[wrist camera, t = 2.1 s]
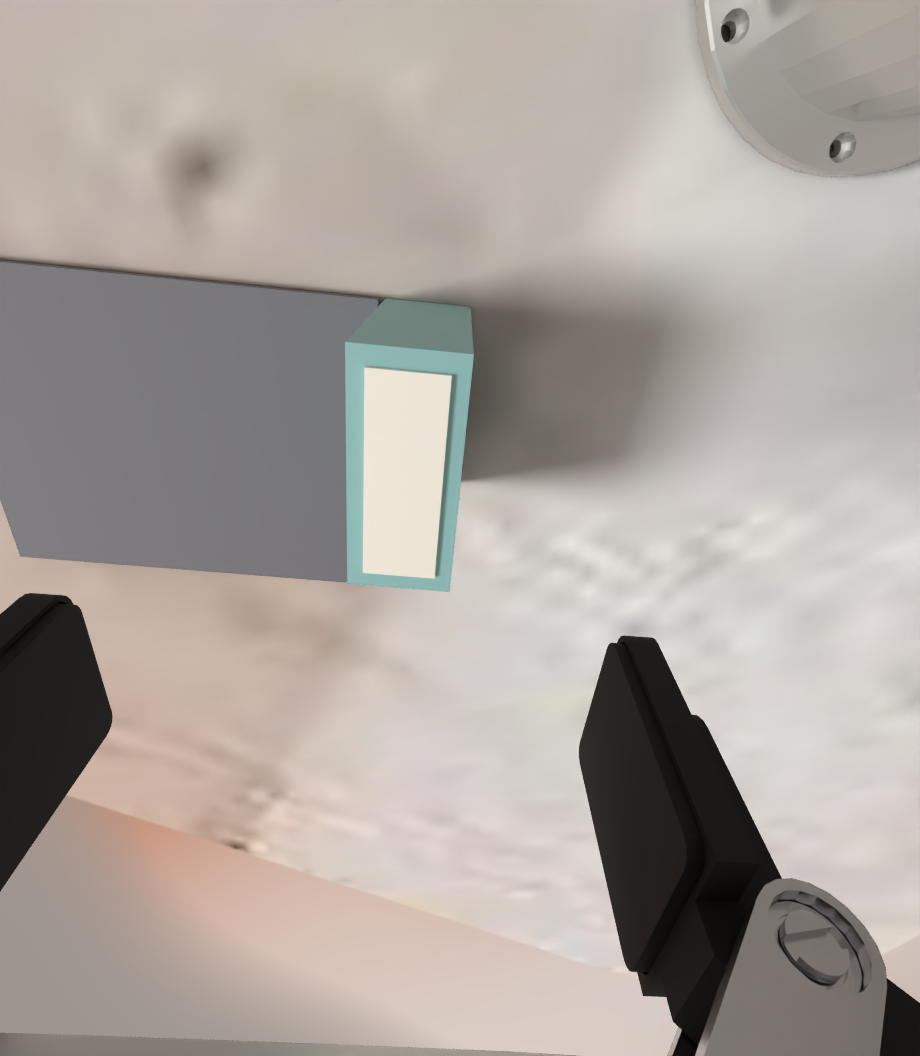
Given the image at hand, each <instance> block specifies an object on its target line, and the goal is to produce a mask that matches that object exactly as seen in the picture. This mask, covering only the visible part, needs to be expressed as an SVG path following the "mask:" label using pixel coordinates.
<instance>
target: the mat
mask: <svg viewBox="0 0 920 1056" xmlns="http://www.w3.org/2000/svg"><path fill="white" fill-rule="evenodd" d="M379 305H380V298H377V297H367V296H357V295H347V294H337V293H327V292H317V291H307V290H297V289H287V288H277V287H267V286H257V285H247V284H237V283H227V282H217V281H207V280H197V279H187V278H177V277H167V276H157V275H147V274H137V273H128V272H118V271H108V270H98V269H88V268H78V267H68V266H58V265H48V264H38V263H28V262H18V261H8V260H0V500H1V503H2V506H3V509H4V511H5V514H6V517H7V520H8V523H9V525H10V528H11V531H12V534H13V537H14V540H15V542H16V545H17V548H18V551H19V554H20V557H32V558H45V559H57V560H70V561H83V562H95V563H108V564H121V565H133V566H146V567H158V568H171V569H184V570H196V571H209V572H222V573H234V574H247V575H259V576H272V577H285V578H297V579H310V580H322V581H335V582H347V501H346V392H345V341H346V340H347V339H348V338H349V337H350V336H351V335H352V334H353V333H354V332H355V331H356V330H357V329H358V328H359V326H360V325H361V324H362V323H363V322H364V321H365V320H366V319H367V318H368V317H369V316H370V315H371V314H372V313H373V312H374V311H375V309H376V308H377V307H378V306H379Z"/></svg>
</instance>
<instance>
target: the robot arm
mask: <svg viewBox="0 0 920 1056" xmlns="http://www.w3.org/2000/svg"><path fill="white" fill-rule="evenodd" d="M695 4H696V19H697V35H698V41H699V45H700V49H701V53H702V58H703V62H704V66H705V70H706V75H707V78H708V80H709V83H710V85H711V87H712V89H713V92H714V94H715V96H716V98H717V101H718V103H719V105H720V107H721V109H722V112H723V113H724V114H725V116H726V117H727V118H728V120H729V121H730V122H731V124H732V125H733V126H734V128H735V129H736V130H737V132H738V133H739V134H740V136H741V137H742V138H743V139H744V140H745V141H746V142H747V143H749V144H750V145H751V146H752V147H753V148H755V149H756V150H757V151H758V152H760V153H761V154H762V155H763V156H764V157H766V158H767V159H769V160H771V161H773V162H775V163H778V164H780V165H782V166H784V167H786V168H789V169H791V170H793V171H795V172H800V173H806V174H812V175H818V176H823V177H837V176H858V175H864V174H870V173H876V172H882V171H888V170H893V169H896V168H898V167H901V166H904V165H907V164H909V163H912V162H915V161H918V160H920V0H695ZM722 25H727V26H729V28H730V31H731V34H730V38H729V40H728V42H724V40H723V38H722V36H721V27H722ZM832 143H833V145H834V151H833V153H832V155H831V156H830V155H829V151H830V145H831V144H832ZM111 724H112V711H111V708H110V704H109V701H108V698H107V694H106V691H105V688H104V684H103V681H102V678H101V674H100V671H99V668H98V664H97V661H96V658H95V654H94V651H93V648H92V644H91V641H90V638H89V634H88V631H87V628H86V624H85V621H84V618H83V614H82V611H81V609H80V608H79V607H78V606H77V605H73V603H72V601H71V600H70V599H69V598H68V597H67V596H63V595H49V594H35V593H29V594H25V595H23V596H22V597H20V598H19V599H18V600H16V601H15V602H14V603H13V604H12V605H11V606H9V607H8V608H7V609H6V610H5V611H4V612H2V613H1V614H0V891H1V889H2V888H3V887H4V885H5V884H6V882H7V881H8V879H9V878H10V876H11V874H12V873H13V872H14V870H15V869H16V868H17V866H18V865H19V863H20V862H21V860H22V859H23V857H24V856H25V854H26V853H27V851H28V850H29V848H30V847H31V845H32V844H33V843H34V841H35V840H36V838H37V837H38V835H39V834H40V832H41V831H42V829H43V828H44V827H45V825H46V824H47V822H48V821H49V819H50V818H51V816H52V815H53V813H54V812H55V810H56V809H57V807H58V806H59V805H60V803H61V802H62V800H63V799H64V797H65V796H66V794H67V793H68V791H69V790H70V789H71V787H72V786H73V784H74V783H75V781H76V780H77V778H78V777H79V775H80V774H81V772H82V771H83V770H84V768H85V767H86V765H87V764H88V762H89V761H90V759H91V758H92V756H93V755H94V753H95V752H96V750H97V749H98V748H99V746H100V745H101V743H102V742H103V740H104V739H105V737H106V736H107V734H108V732H109V730H110V727H111ZM579 760H580V766H581V770H582V775H583V779H584V784H585V788H586V793H587V797H588V802H589V806H590V811H591V815H592V820H593V824H594V828H595V833H596V837H597V842H598V846H599V851H600V855H601V860H602V864H603V869H604V873H605V878H606V882H607V887H608V891H609V895H610V900H611V904H612V909H613V913H614V918H615V922H616V927H617V931H618V936H619V940H620V945H621V949H622V954H623V957H624V961H625V964H626V966H627V968H628V969H629V971H632V972H637V973H638V977H639V981H640V985H641V989H642V993H643V996H657V997H658V996H659V997H667V1001H668V1005H669V1009H670V1012H671V1016H672V1020H673V1022H674V1023H675V1024H676V1025H677V1026H678V1029H677V1031H676V1034H675V1037H674V1039H673V1042H672V1044H671V1047H670V1050H669V1052H668V1055H667V1056H920V1003H919V1002H918V1001H916V1000H915V999H913V998H912V997H911V996H909V995H908V994H907V993H906V992H904V991H903V990H902V989H900V988H899V987H898V986H896V985H895V984H894V983H893V982H891V981H890V980H888V979H887V978H886V967H885V964H884V962H883V959H882V956H881V954H880V951H879V949H878V946H877V945H876V943H875V942H874V940H873V938H872V937H871V935H870V934H869V932H868V931H867V929H866V928H865V926H864V925H863V924H862V923H861V922H860V921H859V919H858V918H857V917H856V916H855V915H854V914H853V913H852V912H851V911H850V910H849V909H848V908H847V907H846V906H845V905H844V904H842V903H841V902H840V901H838V900H837V899H836V898H835V897H833V896H832V895H831V894H829V893H828V892H826V891H824V890H822V889H820V888H818V887H816V886H814V885H812V884H811V883H807V882H804V881H800V880H796V879H793V878H789V879H782V878H781V876H780V874H779V872H778V870H777V868H776V866H775V864H774V862H773V860H772V858H771V856H770V854H769V852H768V849H767V847H766V845H765V843H764V841H763V839H762V837H761V835H760V833H759V831H758V829H757V827H756V825H755V823H754V821H753V819H752V817H751V815H750V813H749V811H748V809H747V807H746V805H745V803H744V801H743V799H742V797H741V795H740V792H739V790H738V788H737V786H736V784H735V782H734V780H733V778H732V776H731V774H730V772H729V770H728V768H727V766H726V764H725V762H724V760H723V758H722V756H721V754H720V752H719V750H718V748H717V746H716V744H715V742H714V740H713V738H712V736H711V733H710V731H709V729H708V727H707V726H706V724H705V723H704V721H703V720H702V719H701V718H700V717H698V716H697V715H691V713H690V711H689V708H688V706H687V704H686V702H685V700H684V698H683V696H682V694H681V691H680V689H679V687H678V685H677V683H676V681H675V679H674V677H673V675H672V672H671V670H670V668H669V666H668V664H667V662H666V660H665V658H664V655H663V653H662V651H661V649H660V647H659V645H658V643H657V641H656V640H655V639H654V638H649V637H635V636H621V637H620V638H619V640H618V642H617V643H610V644H609V645H608V648H607V651H606V654H605V658H604V661H603V665H602V668H601V672H600V675H599V678H598V682H597V685H596V689H595V692H594V696H593V699H592V703H591V706H590V710H589V713H588V716H587V720H586V723H585V727H584V730H583V734H582V737H581V741H580V745H579ZM0 1056H575V1055H558V1054H542V1053H526V1052H510V1051H485V1050H460V1049H435V1048H412V1047H411V1048H410V1047H387V1046H363V1045H337V1044H313V1043H285V1042H258V1041H229V1040H202V1039H174V1038H173V1039H172V1038H145V1037H116V1036H87V1035H54V1034H22V1033H20V1034H19V1033H0Z"/></svg>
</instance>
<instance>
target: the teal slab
mask: <svg viewBox="0 0 920 1056" xmlns="http://www.w3.org/2000/svg"><path fill="white" fill-rule="evenodd" d="M473 358H474V348H473V334H472V320H471V307H468V306H458V305H448V304H438V303H428V302H418V301H408V300H398V299H388V298H386V299H385V300H384V301H383V302H382V303H381V304H380V305H379V306H378V307H377V308H376V309H375V311H374V312H373V313H372V314H371V315H370V316H369V317H368V318H367V319H366V320H365V321H364V322H363V323H362V324H361V325H360V326H359V328H358V329H357V330H356V331H355V332H354V333H353V334H352V335H351V336H350V337H349V338H348V339H347V340H346V341H345V392H346V501H347V584H357V585H370V586H382V587H395V588H408V589H420V590H433V591H445V592H449V591H450V582H451V572H452V562H453V553H454V543H455V533H456V523H457V514H458V504H459V494H460V485H461V475H462V465H463V456H464V446H465V436H466V426H467V417H468V407H469V397H470V388H471V378H472V368H473Z"/></svg>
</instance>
